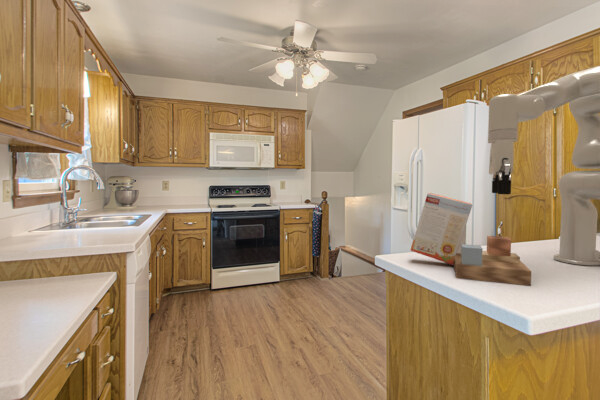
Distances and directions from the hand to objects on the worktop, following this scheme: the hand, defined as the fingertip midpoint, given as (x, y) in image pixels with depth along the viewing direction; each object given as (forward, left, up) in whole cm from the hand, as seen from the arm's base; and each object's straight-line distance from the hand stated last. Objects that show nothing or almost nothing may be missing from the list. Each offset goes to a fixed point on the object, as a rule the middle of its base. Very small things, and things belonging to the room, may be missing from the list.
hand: (500, 193), depth 97 cm
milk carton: (+12, -17, -25) cm, 32 cm away
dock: (+3, +4, -24) cm, 25 cm away
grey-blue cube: (+8, +9, -20) cm, 24 cm away
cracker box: (+19, -4, -22) cm, 30 cm away
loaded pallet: (0, +1, -20) cm, 20 cm away
